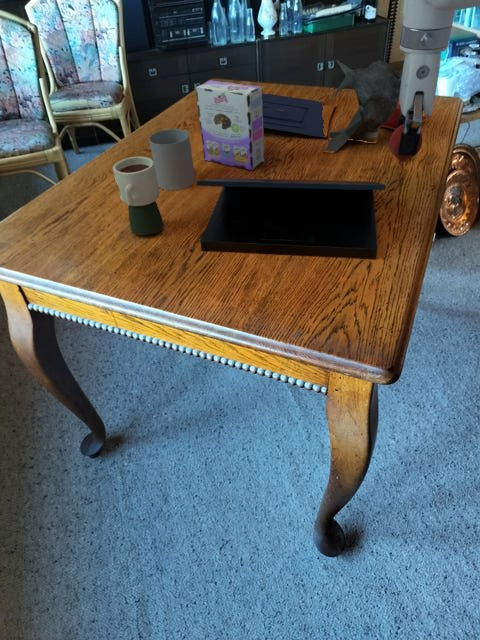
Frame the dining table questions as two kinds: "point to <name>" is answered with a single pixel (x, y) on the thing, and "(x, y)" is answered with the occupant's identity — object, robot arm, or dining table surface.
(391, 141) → the onion
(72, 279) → the dining table surface
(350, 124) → the narwhal figurine
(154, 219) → the character mug
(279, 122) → the dark blue tray
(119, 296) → the dining table surface
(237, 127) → the candy box
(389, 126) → the butter dish
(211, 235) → the laptop
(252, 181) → the laptop screen
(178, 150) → the cup
